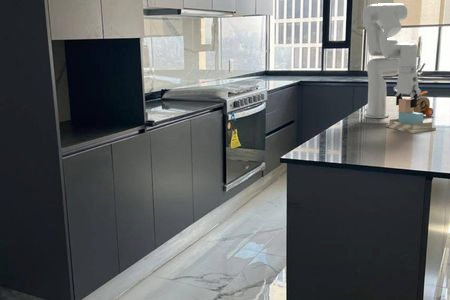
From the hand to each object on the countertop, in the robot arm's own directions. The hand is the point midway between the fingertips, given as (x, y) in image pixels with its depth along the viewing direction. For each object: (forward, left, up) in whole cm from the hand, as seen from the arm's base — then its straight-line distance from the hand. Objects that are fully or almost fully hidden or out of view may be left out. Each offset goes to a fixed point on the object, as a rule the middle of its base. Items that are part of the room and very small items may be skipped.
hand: (406, 106), depth 238 cm
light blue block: (+3, 0, -9) cm, 10 cm away
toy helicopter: (-19, +25, -11) cm, 33 cm away
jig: (+3, 0, -10) cm, 11 cm away
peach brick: (0, 0, -3) cm, 3 cm away
